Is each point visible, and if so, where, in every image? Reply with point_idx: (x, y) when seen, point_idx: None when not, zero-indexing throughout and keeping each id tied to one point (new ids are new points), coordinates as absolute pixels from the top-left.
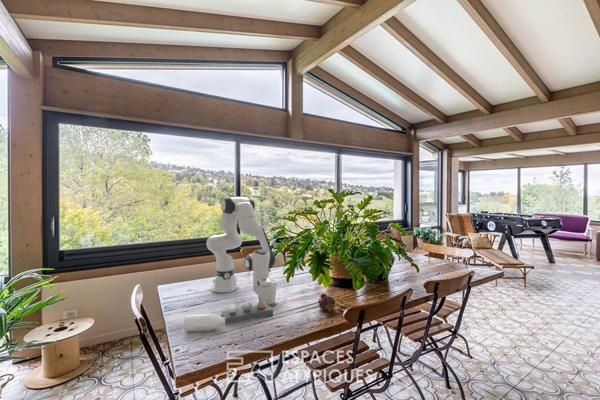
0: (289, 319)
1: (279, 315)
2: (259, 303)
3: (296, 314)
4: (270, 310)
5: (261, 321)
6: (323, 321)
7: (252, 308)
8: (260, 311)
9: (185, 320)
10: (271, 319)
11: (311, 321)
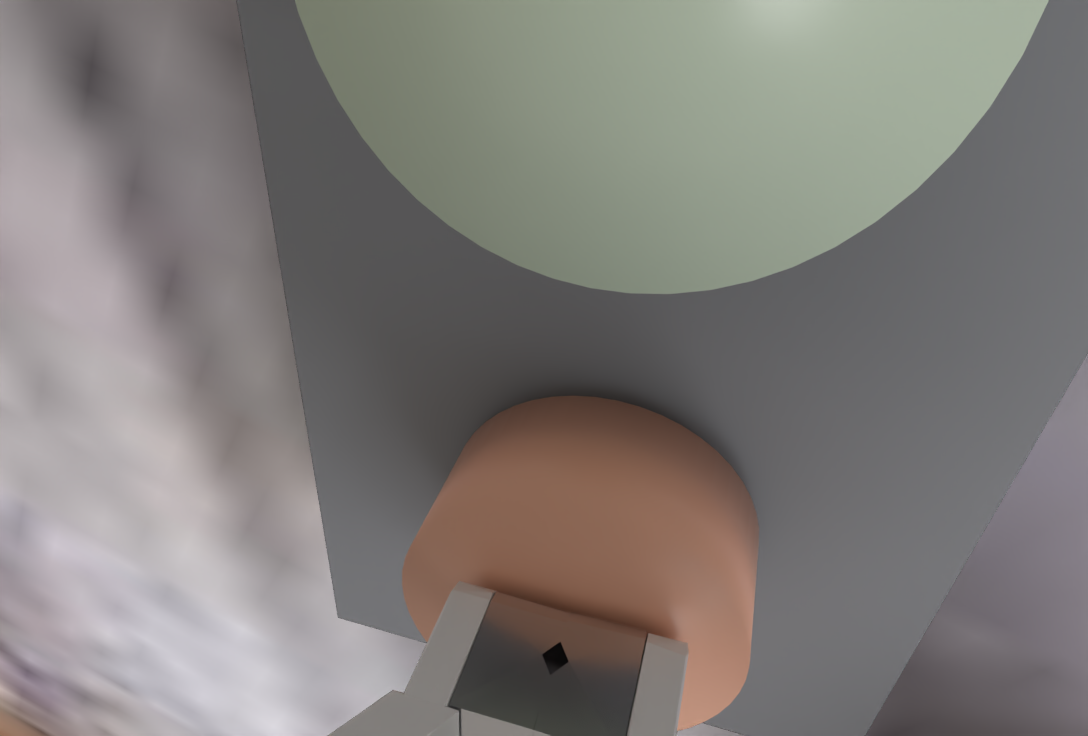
0: (117, 570)
1: (322, 567)
2: (643, 610)
3: (268, 715)
4: (341, 560)
5: (125, 133)
6: (6, 730)
7: None
8: (324, 339)
9: None
10: (184, 373)
11: (17, 676)
